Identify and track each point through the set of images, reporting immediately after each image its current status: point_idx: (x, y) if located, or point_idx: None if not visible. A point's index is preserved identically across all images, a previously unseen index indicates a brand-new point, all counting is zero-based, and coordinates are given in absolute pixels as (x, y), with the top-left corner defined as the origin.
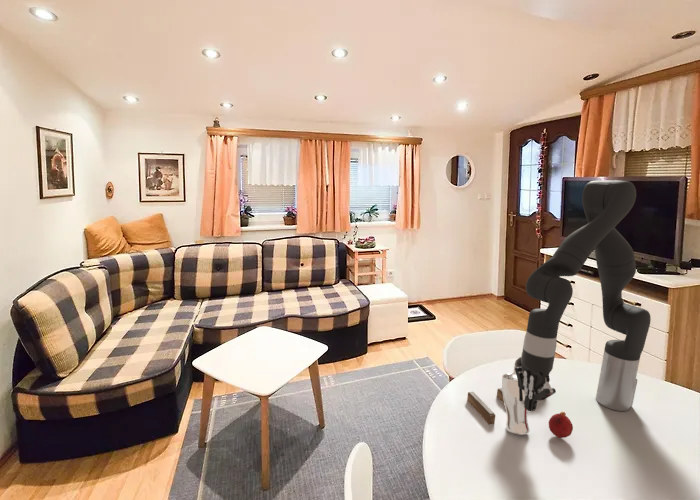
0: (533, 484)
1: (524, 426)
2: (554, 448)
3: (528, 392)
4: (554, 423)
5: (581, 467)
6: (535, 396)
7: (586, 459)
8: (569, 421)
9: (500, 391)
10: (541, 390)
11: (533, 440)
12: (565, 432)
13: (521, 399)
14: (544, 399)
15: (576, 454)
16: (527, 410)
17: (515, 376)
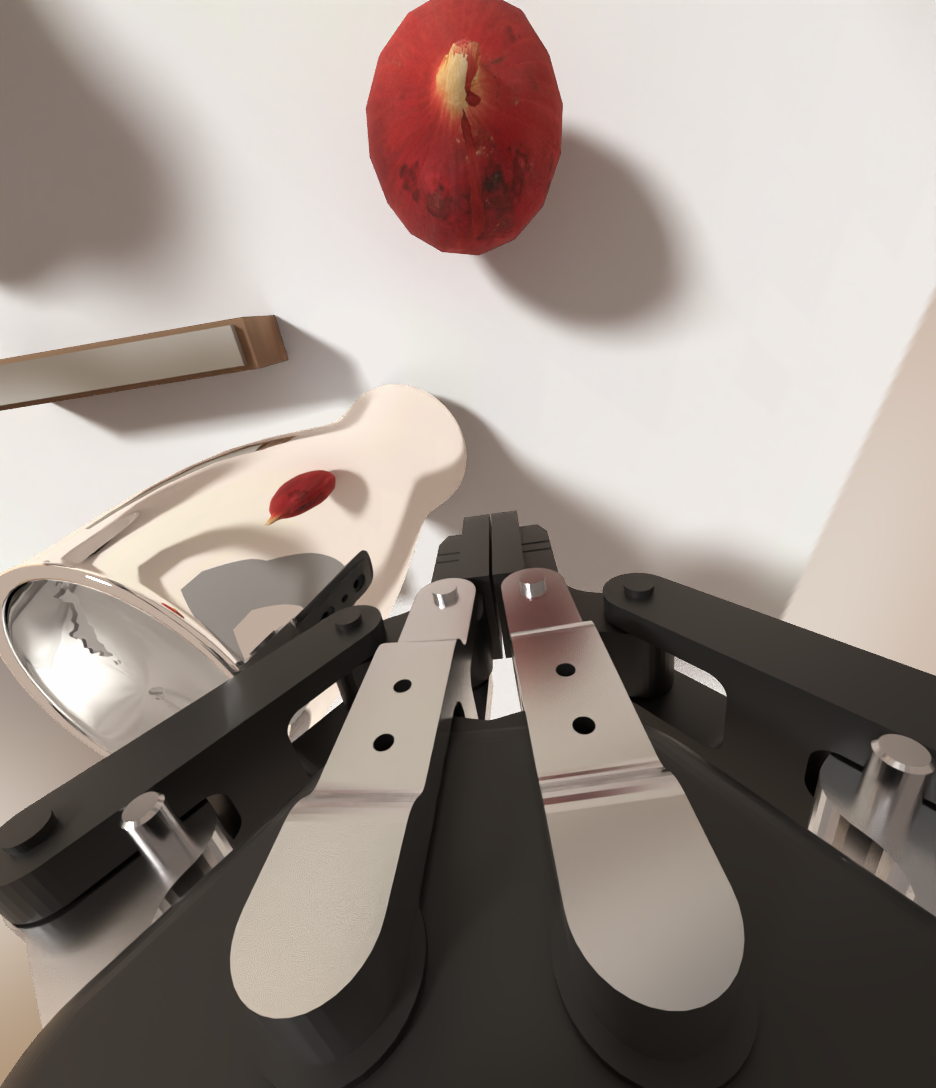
0: (754, 558)
1: (445, 456)
2: (565, 288)
3: (490, 692)
4: (488, 231)
5: (753, 205)
6: (645, 715)
7: (706, 92)
8: (520, 41)
9: (18, 407)
10: (590, 635)
11: (483, 388)
12: (558, 159)
13: (391, 586)
14: (672, 585)
15: (645, 145)
16: (389, 454)
17: (35, 593)
